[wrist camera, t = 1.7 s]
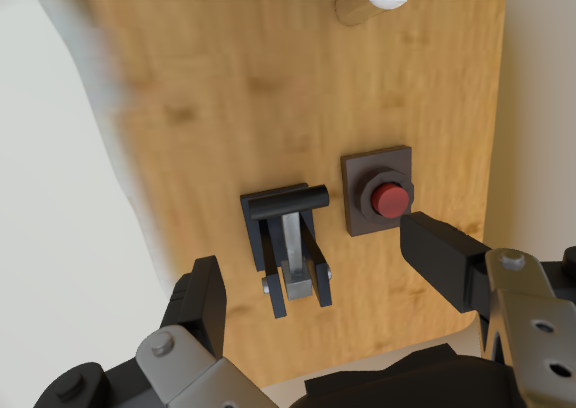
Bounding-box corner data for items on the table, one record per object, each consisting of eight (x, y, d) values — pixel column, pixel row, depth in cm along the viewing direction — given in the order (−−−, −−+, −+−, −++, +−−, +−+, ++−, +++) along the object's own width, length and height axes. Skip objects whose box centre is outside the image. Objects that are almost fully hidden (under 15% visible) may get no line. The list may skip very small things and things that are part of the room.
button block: (340, 157, 33) (351, 162, 29) (403, 144, 33) (421, 149, 30) (346, 231, 36) (357, 244, 33) (403, 219, 37) (419, 230, 34)
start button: (370, 186, 31) (377, 190, 30) (400, 180, 31) (409, 184, 30) (371, 215, 32) (378, 220, 31) (400, 208, 33) (408, 214, 31)
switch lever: (245, 190, 18) (249, 216, 16) (320, 175, 18) (332, 199, 16) (268, 280, 26) (272, 304, 24) (319, 269, 26) (327, 291, 25)
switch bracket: (240, 195, 32) (239, 249, 20) (306, 182, 33) (342, 227, 21) (256, 266, 36) (263, 347, 24) (315, 253, 37) (351, 325, 25)
